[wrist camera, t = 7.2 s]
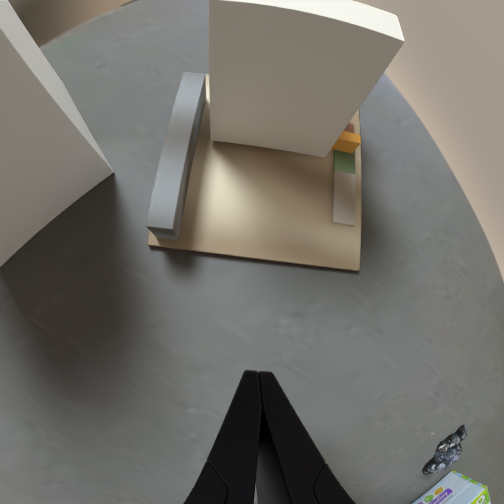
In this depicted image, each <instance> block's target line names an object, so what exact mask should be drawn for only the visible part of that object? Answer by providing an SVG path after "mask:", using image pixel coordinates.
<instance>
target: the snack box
mask: <svg viewBox="0 0 504 504" xmlns="http://www.w3.org/2000/svg"><path fill="white" fill-rule="evenodd" d="M412 504H491V502H490V497H489V492H488V488H487V486H485V485H483V484H480V483H478V482H476V481H474V480H472V479H470V478H468V477H466V476H464V475H462V474H460V473H458V472H456V471H454V470H452V471H451V472H449V473H448V474H447V475H446V476H445V477H444V478H443V479H442V480H441V481H439V482H438V483H437V484H436V485H435V486H434V487H432V488H431V489H430V490H429V491H427V492H426V493H425V494H424V495H422V496H421V497H420V498H419V499H417V500H416V501H415V502H413V503H412Z"/></svg>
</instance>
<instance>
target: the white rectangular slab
mask: <svg viewBox="0 0 504 504" xmlns="http://www.w3.org/2000/svg"><path fill="white" fill-rule="evenodd" d="M404 42H405V41H404V37H403V34H402V31H401V27H400V24H399V22H398V18H397V16H396V15H394V14H391V13H389V12H386V11H383V10H380V9H377V8H374V7H371V6H368V5H365V4H362V3H359V2H355V1H352V0H209V91H210V133H211V140H212V141H220V142H229V143H237V144H244V145H252V146H259V147H266V148H272V149H279V150H285V151H291V152H297V153H302V154H308V155H313V156H319V157H324V158H325V157H326V155H327V154H328V152H329V151H330V149H334V150H339V151H343V152H348V153H353V152H354V151H355V150H356V148H357V147H358V146H359V145H360V144H361V139H360V135H359V134H355V133H351V132H346V131H344V129H345V128H346V126H347V125H348V123H349V122H350V120H351V119H352V117H353V116H354V115H355V113H356V112H357V110H358V109H359V107H360V106H361V104H362V103H363V102H364V100H365V99H366V97H367V96H368V94H369V93H370V91H371V90H372V88H373V87H374V86H375V84H376V83H377V81H378V80H379V78H380V77H381V75H382V74H383V72H384V71H385V70H386V68H387V67H388V65H389V64H390V62H391V61H392V59H393V58H394V56H395V55H396V53H397V52H398V51H399V49H400V48H401V46H402V45H403V43H404Z"/></svg>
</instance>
